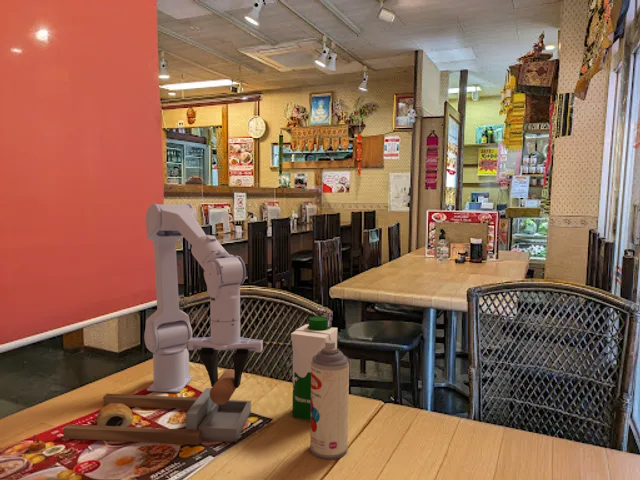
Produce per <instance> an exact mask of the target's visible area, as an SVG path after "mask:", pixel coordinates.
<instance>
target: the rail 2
mask: <svg viewBox="0 0 640 480" xmlns="http://www.w3.org/2000/svg"><path fill="white" fill-rule="evenodd" d="M62 429H63V439H72V440H73V439H75V440H89V441H90V440H91V441H92V440H94V441H112V442H114V441H115V442H134V443H153V444H154V443H157V444H172V445H174V444H175V445H193V446H194V445H195V446H199V445H200V444H201V442H202V440H201V430H186V429H180V428H177V429H176V428H161V427H160V428H156V427H140V426H139V427H133V426H127V427H117V426H97V424H94V425H92V424H73V423H72V424H71V423H68V424H67V425H65V426H64V427H63V428H62Z"/></svg>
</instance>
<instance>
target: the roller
mask: <svg viewBox="0 0 640 480" xmlns="http://www.w3.org/2000/svg"><path fill="white" fill-rule="evenodd" d="M234 374H235V372H234V368H233V369H232V368H229V369H226V370H224V371H223V373H222V374H221V375H220V376H219V377H218V380H217V382H216V383H215V384H214V386H213V387H210V388H211V390H210V398H211V400H212V401H213V402H214V403H215V404H218V405H223V404H225V403H227V402H228V401H229V400H231V398H232V396H233V394H234V393H235V391H236V390H237V388H235V387H234Z"/></svg>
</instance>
